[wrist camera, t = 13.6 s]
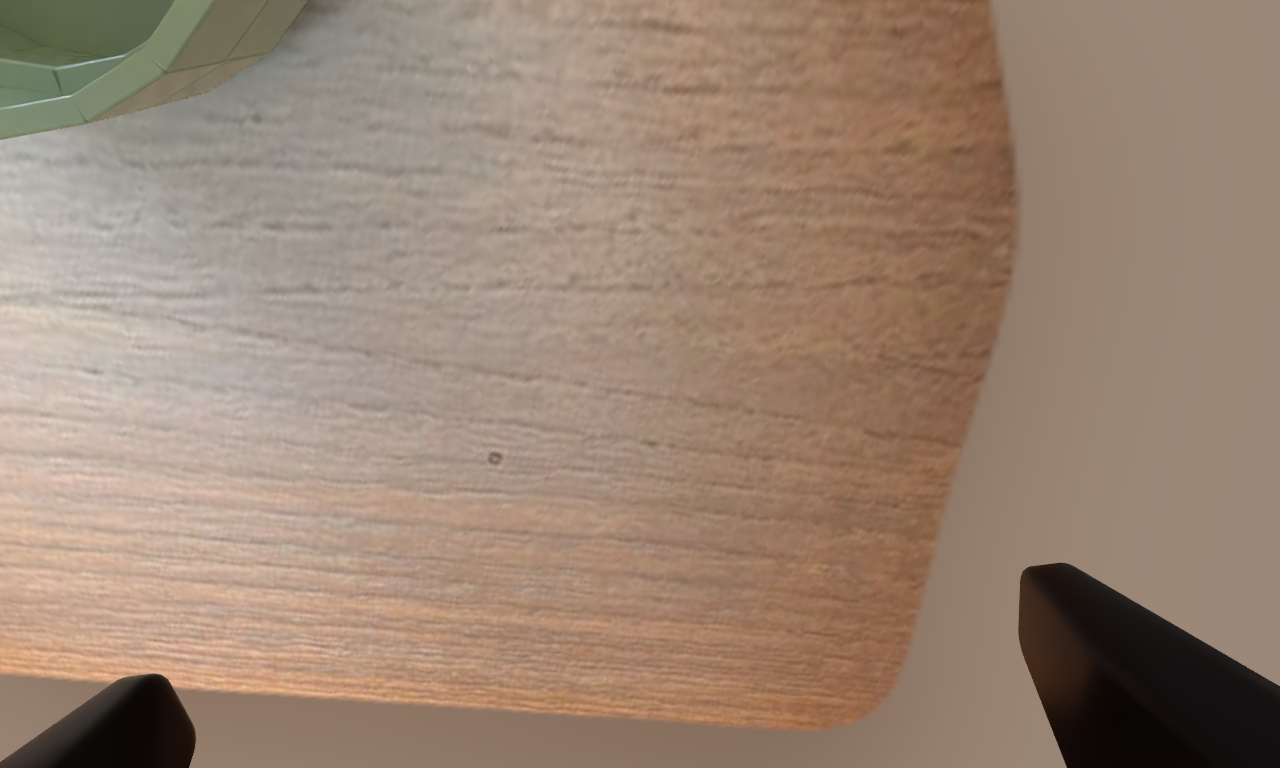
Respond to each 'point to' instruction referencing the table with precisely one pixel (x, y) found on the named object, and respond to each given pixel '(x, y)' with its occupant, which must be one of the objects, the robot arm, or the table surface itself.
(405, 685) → the table surface
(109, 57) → the bowl
